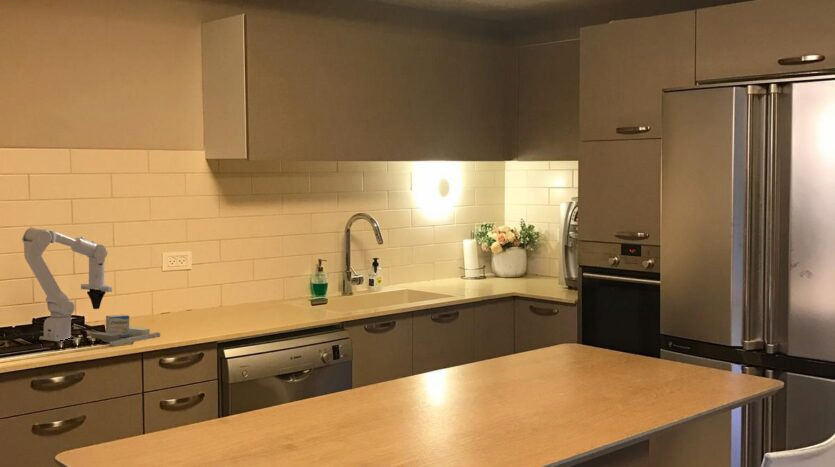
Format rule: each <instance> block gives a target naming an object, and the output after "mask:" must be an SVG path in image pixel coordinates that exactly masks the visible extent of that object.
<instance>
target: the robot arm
mask: <svg viewBox="0 0 835 467" xmlns="http://www.w3.org/2000/svg"><path fill="white" fill-rule="evenodd" d="M21 241H22V242H23V251H24V252H23V254H24V255H23V256H24V258H25V261H26V263H27V264H28V266H29V268H30V270H31V271H32V273H33V275H34V276H35V278H36V280H37V282H38V283H39V285H40V287H41V288H42V290H43V292H44V294H45V295H46V297H45V301H46V306H47V310H48V312H50V317H47V318H46V319H45V320H44V322H43V337H42V338H41V340H42V341H43V340H45V341H51V342H61V341H60V340H63V341H66V340H65V339H68V338H70V337H71V336H72V335H71V334H72V333H71V331H72V326H71V325H72V324H71V323H72V314H73V313H74V312H75V310H76V308H75V307H76V305H75V303H74V301H73V300H72V299H70V298H69V297H68V296H67V295H66V293H64V292H63V291H62V290H61V288H60V286H59V284H58V283H57V281H56V280H55V278H54V275H53V274H52V272H51V271H50V269H49V267H48V265H47V263H46V262H45V260H44V258H43V253H44V251H45V250H46V249H47V247H49V245H50V244H54V243H56V244H57V243H58V244H59V245H60V244H61V245H64V246H68V247H70V248H71V250H72V252H75V253H78V254H80V255H83V256H86V257H87V258H88V284H87V283H82V284H80V290H88V291H86V294H87V296H88V297H89V299H90V302H91V305H92V306H91V307H92V308H93V310H99V309H100V308H101V304H102V301H103V298H104V297H105V295H106V292H107V293H111V292H113V286H109V285H106V284H105V262H106V260H105V259H106V258H107V256H108V251H107V248H106V247H105V245H103V244H98V243H97V244H96V241H93V240H92V241H90V240H87V239H86V238H85V237H84V236H79V237H75V238H72V237H69V236H67V235H64V234H63V233H59V232H57V231H54V230H49V229H45V228H44V229H43V228H41V229H40V228H36V227H30V228H27V229H26V230H25V231H24V233H23V236H22V238H21ZM68 340H69V339H68Z"/></svg>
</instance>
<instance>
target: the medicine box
mask: <svg viewBox="0 0 835 467" xmlns="http://www.w3.org/2000/svg"><path fill="white" fill-rule="evenodd" d="M129 326H130V315H128V314H115V315H105V333H111V334H119V339H125V338H130V336H129Z"/></svg>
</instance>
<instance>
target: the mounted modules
mask: <svg viewBox="0 0 835 467" xmlns="http://www.w3.org/2000/svg"><path fill="white" fill-rule="evenodd" d="M150 329H151V328H147V327H138V326H132V325H131V326H130V325H129V337H135V336H140V335H145V334H151V332H150V331H151V330H150ZM91 337H92V338H98V339H101V340H102V341H104V342H107V343H106V344H109V345H110V341H114V340H119V339H120V338H119V334H111V333H106V332H103V331H97V332H92V333H90V338H91Z"/></svg>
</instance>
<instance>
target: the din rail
mask: <svg viewBox="0 0 835 467" xmlns="http://www.w3.org/2000/svg"><path fill="white" fill-rule="evenodd" d="M159 337H161V332H153V333H152V332H150V334H145V335H140V336H135V337H133V336H129V337H128V338H119V340H114V341H110V344H109V346H112V347H114V346H119V345H124V344H128V343H134V342H138V341H145V340H149V339H153V338H159Z"/></svg>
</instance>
